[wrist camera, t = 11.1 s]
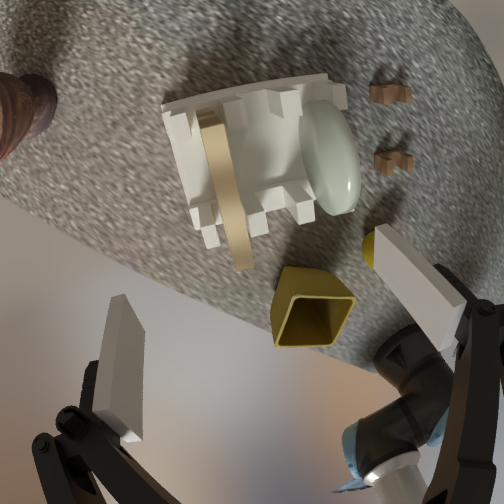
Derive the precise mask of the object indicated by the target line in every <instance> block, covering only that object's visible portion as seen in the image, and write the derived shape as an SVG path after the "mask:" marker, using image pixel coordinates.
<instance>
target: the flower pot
mask: <svg viewBox="0 0 504 504" xmlns="http://www.w3.org/2000/svg"><path fill="white" fill-rule="evenodd" d="M355 302H356V297H355V296H354V295H353V293H352V292H351V291H350V290H349V289H348V288H347V287H346V286H345V285H344V284H343V283H342V282H341V281H340V280H339V279H338V278H337V277H336V276H334V275H333V274H331V273H329V272H326V271H323V270H320V269H315V268H304V267H292V266H285V267H284V268H283V270H282V273H281V276H280V279H279V283H278V286H277V289H276V292H275V295H274V298H273V301H272V305H271V312H270V320H271V327H272V334H273V339H274V346H275V347H280V348H283V347H284V348H296V347H324V346H332V345H334V343H335V342H336V340H337V338H338V336H339V334H340V332H341V330H342V328H343V326H344V324H345V322H346V320H347V318H348V316H349V314H350V312H351V310H352V308H353V306H354V304H355Z"/></svg>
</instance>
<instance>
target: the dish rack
mask: <svg viewBox="0 0 504 504" xmlns="http://www.w3.org/2000/svg"><path fill="white" fill-rule="evenodd" d="M317 100H328V101H330V102H332V103H333V104H335V105H336V106H337V107H338V109H339V110H346V109H348V105H347V96H346V87H345V84H341V83H334V82H332V80H328V74H327V73H319V74H310V75H302V76H294V77H286V78H280V79H273V80H267V81H261V82H255V83H250V84H244V85H239V86H234V87H229V88H225V89H220V90H216V91H211V92H207V93H203V94H199V95H195V96H191V97H187V98H183V99H179V100H176V101H172V102H168V103H165V104H162V105H161V108H162V115H163V119H164V123H165V127H166V130H167V134H168V136H169V138H170V142H171V145H172V149H173V153H174V156H175V160H176V163H177V167H178V170H179V174H180V177H181V181H182V184H183V188H184V191H185V195H186V198H187V201H188V205H189V211H190V214H191V217H192V221H193V224H194V227H195V229H196V230H199V229H201V231H202V235H203V238H204V241H205V244H206V248H207V249H210V248H213V247H217V246H220V241H219V237H218V232H217V228H216V225H218V224H222V223H223V221H222V218H221V214H220V210H219V206H218V202H217V198H216V194H215V190H214V186H213V182H212V178H211V174H210V170H209V166H208V162H207V158H206V154H205V150H204V146H203V142H202V138H201V134H200V130H199V126H198V121H197V117H196V113H195V111H198V110H202V109H206V108H210V107H211V108H212V110H213V111H214V112H215V113H216V115H217V116H218V117H219V118H220V120H221V121H222V122H223V123H224V127H225V132H226V137H227V141H228V146H229V150H230V155H231V159H232V164H233V169H234V173H235V178H236V182H237V187H238V191H239V196H240V200H241V205H242V210H243V214H244V219H245V223H246V225H247V227H248V230H249V232H250V235H251V237H255V236H259V235H263V234H266V233H269V231H268V225H267V220H266V214H265V212H268V211H272V210H276V209H280V208H284V207H286V208H287V209H288V210H289V212H290V213H291V215H292V216H293V217H294V219H295V220H296V222H297V223H298V224H299V225H301V224H305V223H309V222H313V221H315V213H314V203H313V200H317V199H316V197H315V195H314V193H313V191H312V188H311V186H310V183H309V180H308V177H307V174H306V171H305V167H304V163H303V159H302V154H301V148H300V141H299V117H300V116H303V113H302V107H303V105H304V104H305V103H306V102H309V101H317ZM352 211H354V209H353V210H352ZM352 211H350V212H352ZM347 213H348V212H347ZM343 214H344V213H343Z"/></svg>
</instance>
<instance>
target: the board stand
mask: <svg viewBox="0 0 504 504" xmlns="http://www.w3.org/2000/svg"><path fill="white" fill-rule="evenodd" d="M369 90H370V101H372V102H376V103H380V104H384V105H387V104H390V100H396V101H400V102H404V103H412V94H411V87H409V86H404V85H398V84H388V85H370V86H369ZM393 166H398V167H400V168H402V169H404V170H405V171H407V172H409V171H413V156H412V155H410V154H408V153H406V152H404V151H401V150H394V151H387V152H381V153H376V154H374V168H375V169H377V170H378V171H380V172H381V173H383V174H385V175H386V176H390V175H393Z"/></svg>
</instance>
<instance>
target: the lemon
mask: <svg viewBox="0 0 504 504" xmlns="http://www.w3.org/2000/svg"><path fill="white" fill-rule="evenodd" d="M374 242H375V230H374V231H372V232H370V233H369V234H367V236H366V237H365V238H364V240H363V243H362V249H361V250H362V255H363V258H364V260H365V261H366V263H367V264H368V265H369V266H370V267H371V268H372V269H373V265H374ZM373 270H374V269H373ZM374 271H375V270H374Z"/></svg>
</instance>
